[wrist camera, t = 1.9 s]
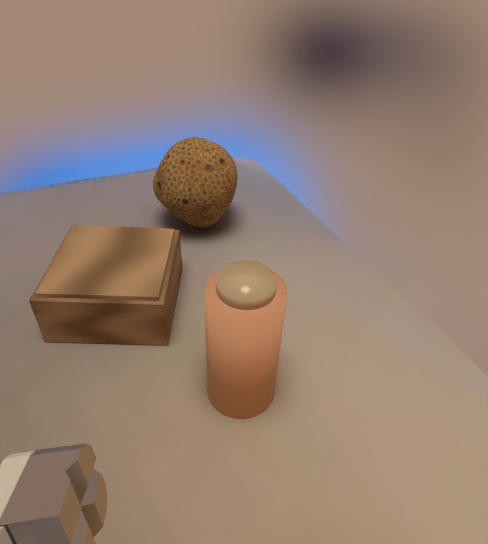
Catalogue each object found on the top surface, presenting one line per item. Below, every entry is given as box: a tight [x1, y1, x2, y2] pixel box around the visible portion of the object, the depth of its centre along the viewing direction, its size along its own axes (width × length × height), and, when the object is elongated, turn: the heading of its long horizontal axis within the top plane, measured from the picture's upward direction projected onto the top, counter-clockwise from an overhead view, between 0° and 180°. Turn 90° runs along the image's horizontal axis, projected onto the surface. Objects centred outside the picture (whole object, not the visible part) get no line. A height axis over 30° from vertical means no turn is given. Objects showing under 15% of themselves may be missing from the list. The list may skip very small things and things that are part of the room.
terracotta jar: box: [204, 260, 287, 419], centre depth 29 cm, size 5×5×11 cm
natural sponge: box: [153, 137, 237, 228], centre depth 47 cm, size 9×9×10 cm
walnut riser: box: [29, 225, 182, 345], centre depth 38 cm, size 10×10×5 cm
